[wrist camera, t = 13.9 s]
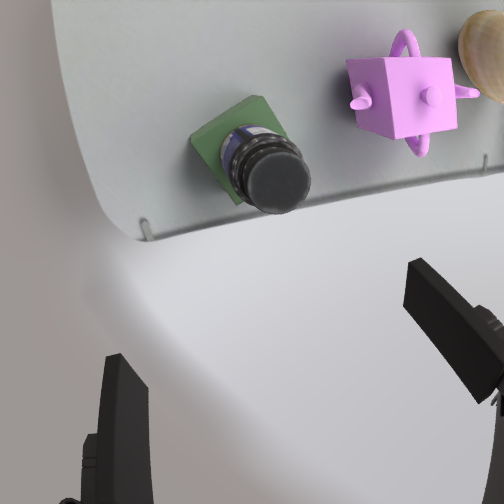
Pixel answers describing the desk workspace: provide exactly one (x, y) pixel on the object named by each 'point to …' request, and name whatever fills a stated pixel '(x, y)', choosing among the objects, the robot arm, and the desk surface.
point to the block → (217, 129)
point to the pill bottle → (265, 169)
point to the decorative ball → (484, 52)
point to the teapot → (405, 94)
